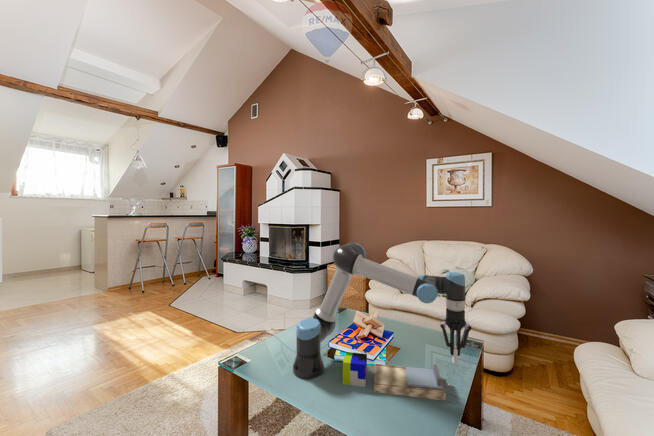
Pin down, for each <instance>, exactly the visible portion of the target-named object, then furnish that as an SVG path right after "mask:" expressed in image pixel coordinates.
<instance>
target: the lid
mask: <svg viewBox="0 0 654 436" xmlns="http://www.w3.org/2000/svg"><path fill="white" fill-rule="evenodd" d="M405 367H406V377H407V385H408V386H416V387H425V388H433V389H442V385H441V381H442V377H441V374H440V370H439V367H438V365H437V364H435V363H433V364H432V368H431V369H429V368H421V367H412V366H411V367H410V366H405Z"/></svg>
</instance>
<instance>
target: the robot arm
mask: <svg viewBox="0 0 654 436" xmlns="http://www.w3.org/2000/svg"><path fill="white" fill-rule="evenodd" d="M366 255H367V254H366V250H365V248H364V246H362V245H361V244H359V243H357V242H348V243H347V244H343V245H341V246H338V247H337V248H336V249H335V251H334V252H333V254H332V257H333V258H332V259H333V263H334V265H335V267H336V269H335V271H334V273H333V274H334V275H333V276H332V278H331V281H330V283H329V286H328V288H327V290H326V293H325V295H324V298H323V300H322V302H321V305H320V307H317V308H316V309H315V312H314V314H313V316H312V317H308V318H306V319H301V321H299V322H298V323H297V326H296V331H295V332H296V333H295V334H296V335H295V336H296V355H295V358H294V360H293V363H292V364H293V365H292V373H293V374H294V375H295V376H296V377H298V378H301V379H314V378H317V377H320V376H322V374H323V373H324V372H325V363H324V361H323V358H322V353H321V345H322V344H321V343H322V342H323V341H324V340H325V339H327V337H329V336H330V335H331V334H332V333H333V332H334V331H335V328H336V325H337V323H336V321H337V318H338V317H337V315H336V314H337V312H338V309H339V306H340V304H341V301H342V300H343V299H344V298H343V297H344V295H345V293H346V291H347V288H348V286H349V284H350V281H351V279H352V278H353V276H357V275H359V276H362V277H364V278H367V279H369V280H372V281H375V282H377V283H380V284H382V285H384V286H388V287H389V288H390V287H391V288H393V289H395V290H399V291H401V292H403V293H406V294H409V295H411V296H413V297H416V298H418V300H419V301H420V302H421V303H424V304H432V303H433V302H435V301H436V299H437V298H438V296H439V294H440V295H445V296H446V297H445V299H446V300H445V306H446V308H445V319H444V321H443V322H439V326H440V329H442V334H443V339H444V341H445V346H446V347H449V353H450V356H452V360H451V361H452V363H453V365H458V362H459V361H458V358H459V357H460V356H461V349H463V348H466V344H467V340H468V337H469V333H470V332H471V330H472V326H471V325H470V324H468V323H467V322H466V310H465V308H466V276H465V274H463V273H461V272H457V271H451V272H450V271H448V272H447V273H446V274H445V276H437V275H429V274H420V275H418V277H416V276H415V275H411V274H408V273H405V272H403V271H401V270H400V271H399V270H397V269H395V268H391V267H390V266H386V265H383V264H381V263H378V262H376V261H372V260H371V259H367V258H366ZM446 328H449V338H448V333H447V330H446ZM463 328H464V330H463ZM462 330H463V335H462V337H461V333H462ZM455 337H456V339H455ZM455 343H456V344H455Z"/></svg>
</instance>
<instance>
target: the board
mask: <svg viewBox="0 0 654 436" xmlns="http://www.w3.org/2000/svg"><path fill="white" fill-rule="evenodd" d="M374 367H375V368H374V369H375V370H374V381H373V382H374V383H373V392H374V393H381V394H388V395H396V396H404V397H412V398H420V399H426V400H427V399H428V400H436V401H442V402H444V401H446V397H447V395H446V390H445V388H444V385H443V381H442V380H441V385H442V389H433V388H425V387H416V386H408V385H407V377H406V367H407V366H402V365H401V366H400V365H390V364H383V363H382V364H381V363H375V366H374Z"/></svg>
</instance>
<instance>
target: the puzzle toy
mask: <svg viewBox="0 0 654 436" xmlns="http://www.w3.org/2000/svg"><path fill="white" fill-rule="evenodd" d="M367 370H368V354H367V353H362V352H360V353H359V352H352V351H351V352H350V351H345V354H344V358H343V360H342V385H349V386H355V387H366V385H367V384H366V382H367V373H368V371H367Z"/></svg>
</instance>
